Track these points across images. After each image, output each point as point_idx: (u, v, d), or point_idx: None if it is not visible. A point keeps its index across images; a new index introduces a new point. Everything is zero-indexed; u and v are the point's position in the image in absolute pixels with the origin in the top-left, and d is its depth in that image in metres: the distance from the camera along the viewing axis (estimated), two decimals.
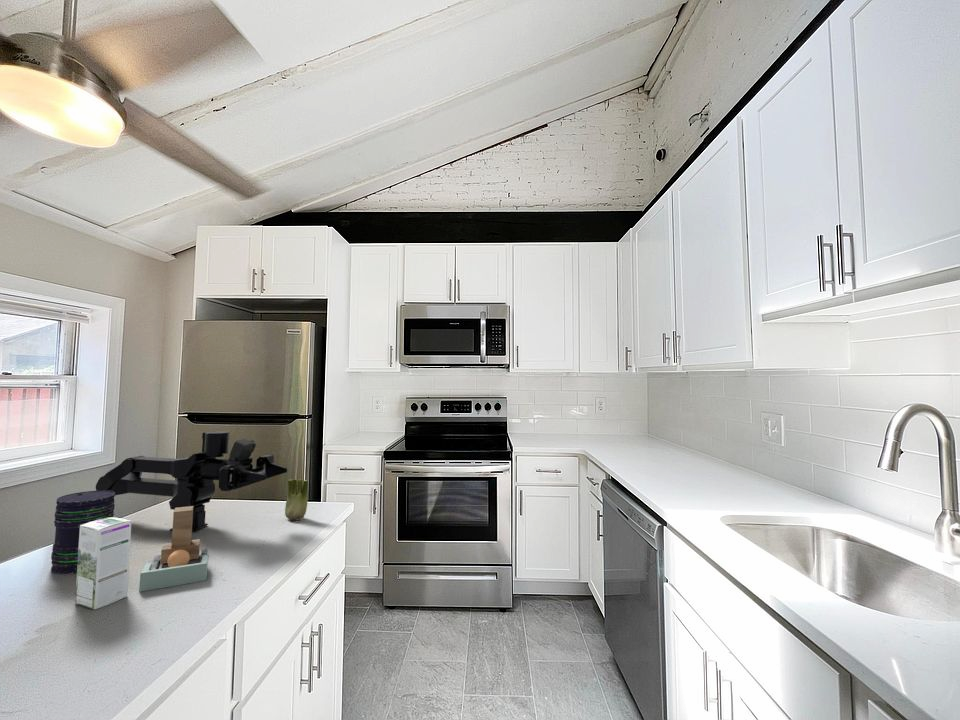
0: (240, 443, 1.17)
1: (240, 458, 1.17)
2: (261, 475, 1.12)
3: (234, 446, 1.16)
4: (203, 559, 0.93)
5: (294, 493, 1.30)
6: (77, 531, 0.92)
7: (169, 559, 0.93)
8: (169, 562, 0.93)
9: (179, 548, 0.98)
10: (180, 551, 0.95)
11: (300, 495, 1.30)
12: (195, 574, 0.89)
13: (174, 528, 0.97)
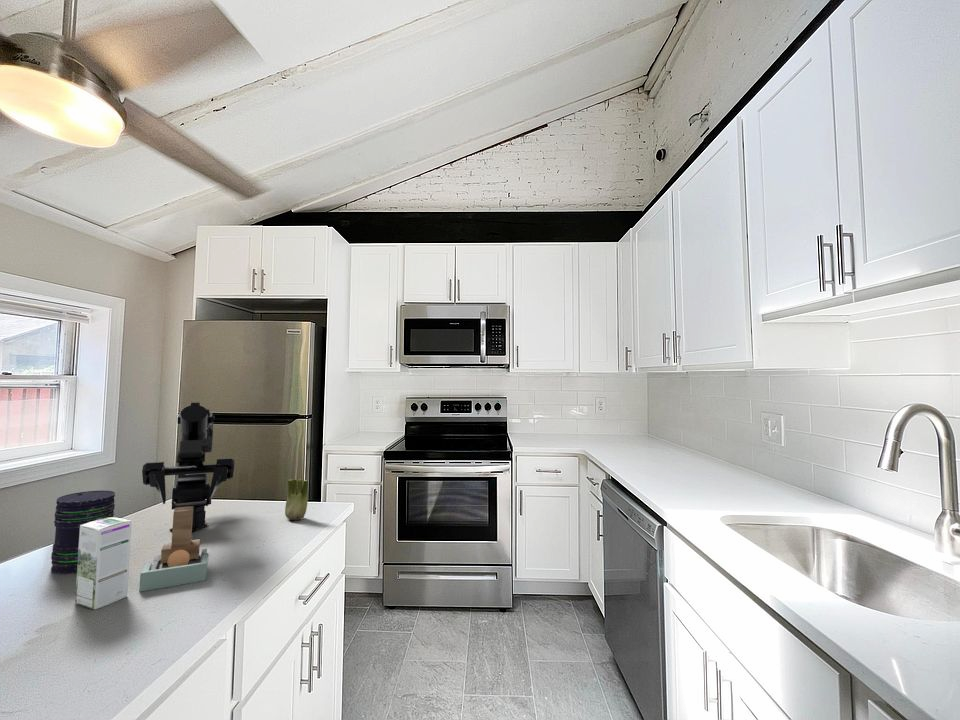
0: (181, 446, 1.03)
1: (183, 456, 1.06)
2: (162, 498, 1.00)
3: None
4: (203, 559, 0.93)
5: (294, 493, 1.30)
6: (77, 531, 0.92)
7: (169, 559, 0.93)
8: (169, 562, 0.93)
9: (179, 548, 0.98)
10: (180, 551, 0.95)
11: (300, 495, 1.30)
12: (195, 574, 0.89)
13: (174, 528, 0.97)
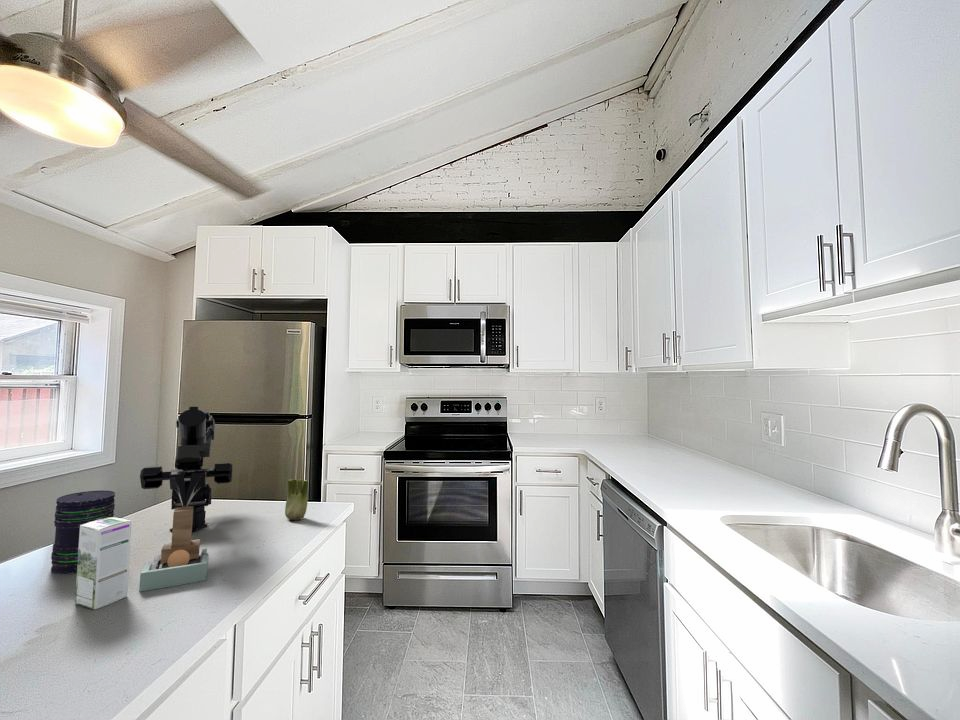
0: (178, 452, 1.03)
1: (181, 461, 1.06)
2: (182, 501, 1.02)
3: None
4: (203, 559, 0.93)
5: (294, 493, 1.30)
6: (77, 531, 0.92)
7: (169, 559, 0.93)
8: (169, 562, 0.93)
9: (179, 548, 0.98)
10: (180, 551, 0.95)
11: (299, 495, 1.30)
12: (195, 574, 0.89)
13: (174, 528, 0.97)
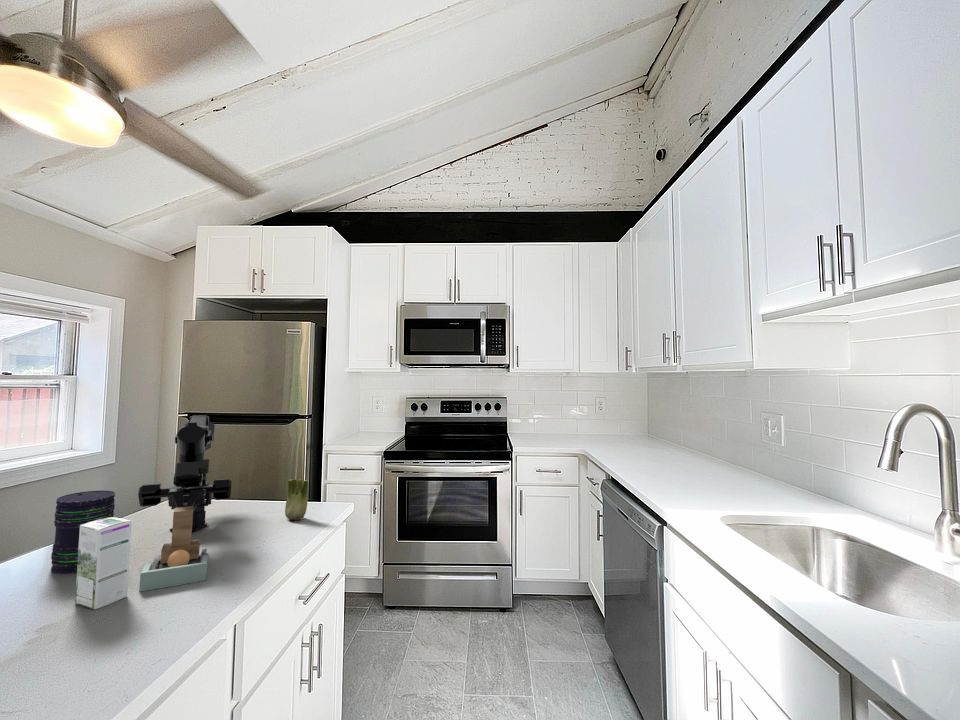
0: (177, 469, 1.02)
1: (180, 478, 1.05)
2: None
3: (176, 466, 1.03)
4: (203, 559, 0.93)
5: (294, 493, 1.30)
6: (77, 531, 0.92)
7: (169, 559, 0.93)
8: (169, 562, 0.93)
9: (179, 548, 0.98)
10: (180, 551, 0.95)
11: (300, 495, 1.30)
12: (195, 574, 0.89)
13: (174, 528, 0.97)
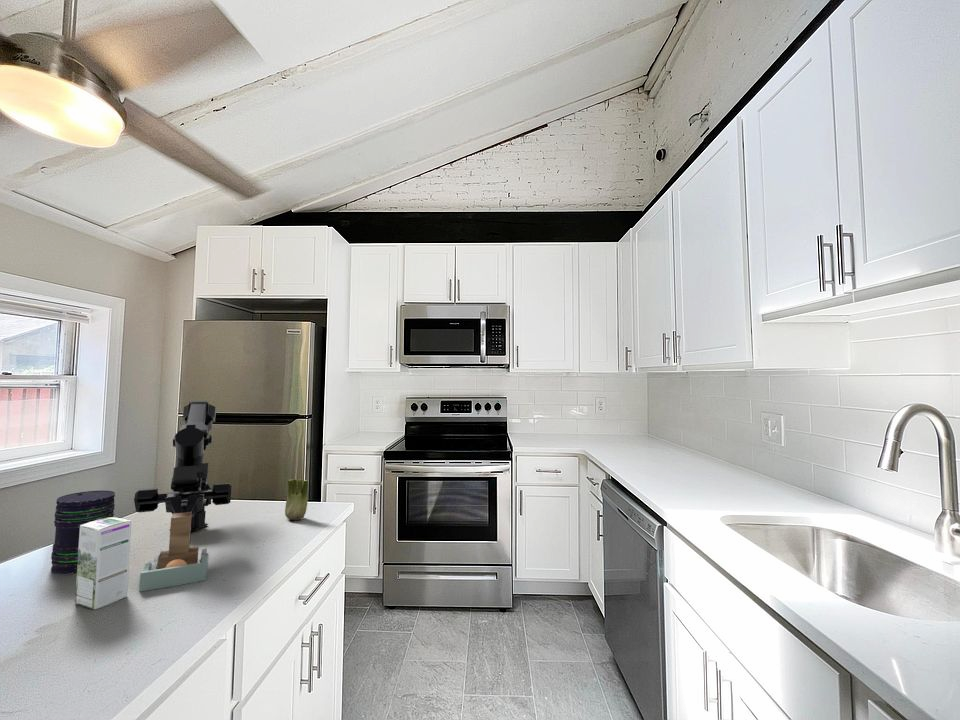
0: (175, 473, 0.98)
1: (178, 483, 1.01)
2: None
3: None
4: (203, 559, 0.93)
5: (294, 493, 1.30)
6: (77, 531, 0.92)
7: None
8: None
9: (177, 556, 0.93)
10: None
11: (299, 495, 1.30)
12: (195, 574, 0.89)
13: (171, 535, 0.93)
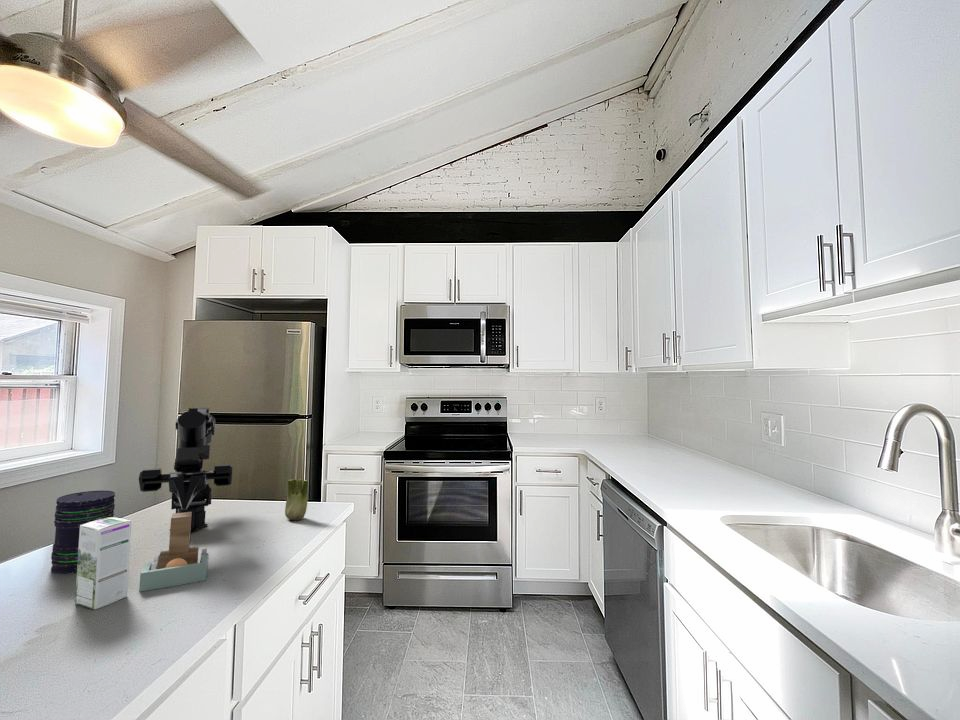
0: (178, 454, 1.02)
1: (181, 464, 1.04)
2: (181, 504, 1.01)
3: None
4: (203, 559, 0.93)
5: (294, 493, 1.30)
6: (77, 531, 0.92)
7: None
8: None
9: (177, 556, 0.93)
10: None
11: (299, 495, 1.30)
12: (195, 574, 0.89)
13: (171, 535, 0.93)
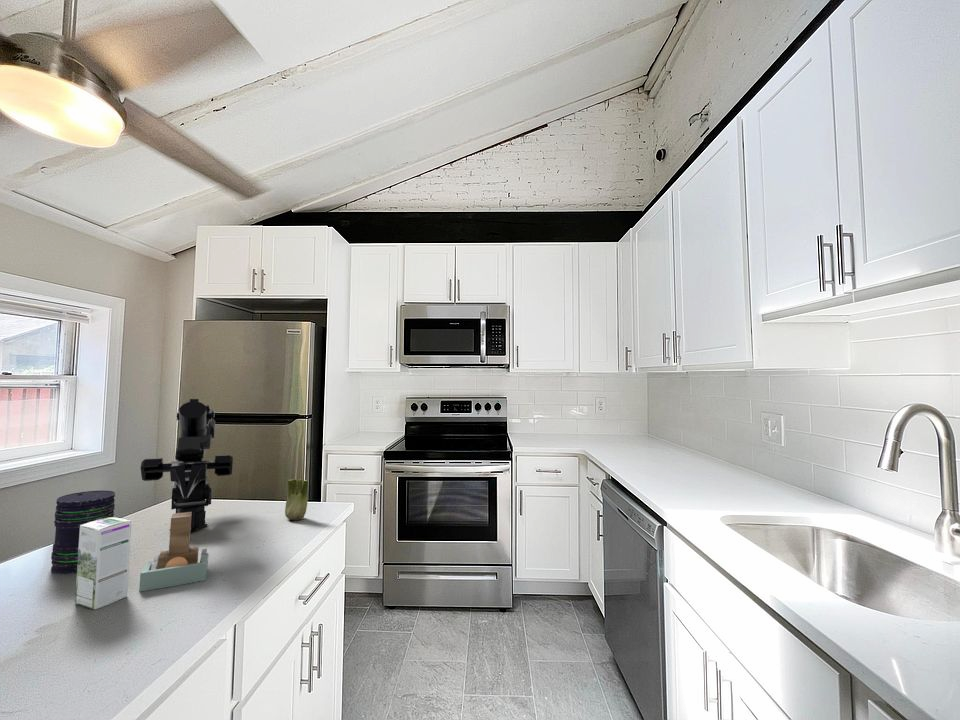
0: (179, 443, 1.03)
1: (182, 453, 1.06)
2: (182, 492, 1.02)
3: (178, 441, 1.04)
4: (203, 559, 0.93)
5: (294, 493, 1.30)
6: (77, 531, 0.92)
7: None
8: None
9: (177, 556, 0.93)
10: None
11: (299, 495, 1.30)
12: (195, 574, 0.89)
13: (171, 535, 0.93)
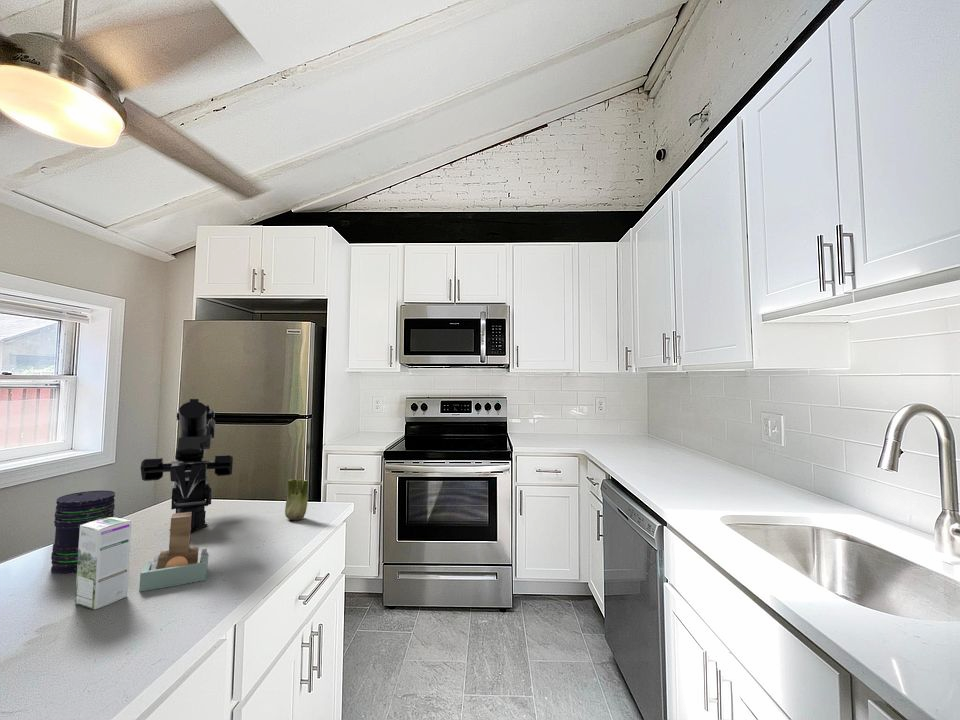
0: (179, 443, 1.03)
1: (182, 453, 1.06)
2: (182, 492, 1.02)
3: (178, 441, 1.04)
4: (203, 559, 0.93)
5: (294, 493, 1.30)
6: (77, 531, 0.92)
7: None
8: None
9: None
10: None
11: (299, 495, 1.30)
12: (195, 574, 0.89)
13: (171, 535, 0.93)
